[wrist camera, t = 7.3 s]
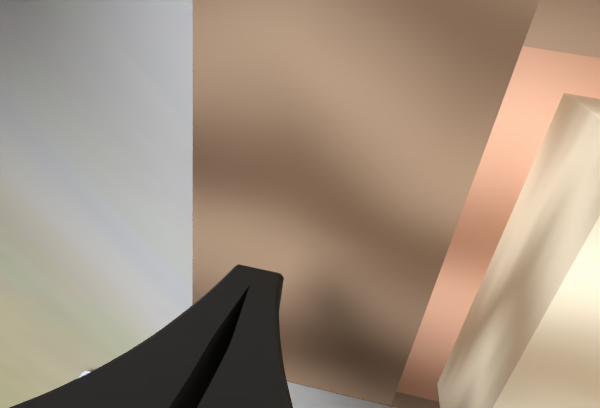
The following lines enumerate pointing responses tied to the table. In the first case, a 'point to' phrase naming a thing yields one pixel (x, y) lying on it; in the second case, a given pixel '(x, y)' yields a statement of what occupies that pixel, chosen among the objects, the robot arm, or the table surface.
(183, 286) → the table surface
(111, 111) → the table surface
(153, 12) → the table surface
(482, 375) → the t block
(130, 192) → the table surface
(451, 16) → the brown rectangular board
